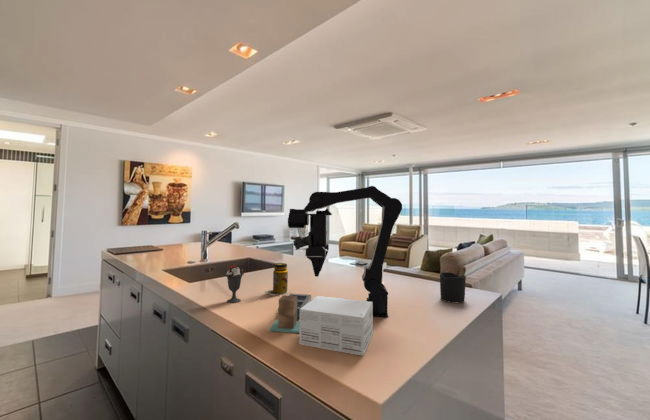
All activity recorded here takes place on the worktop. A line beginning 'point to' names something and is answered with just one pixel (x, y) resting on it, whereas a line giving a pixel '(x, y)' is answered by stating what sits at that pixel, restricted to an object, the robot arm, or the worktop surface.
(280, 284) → the condiment
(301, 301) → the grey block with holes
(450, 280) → the pen holder
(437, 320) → the worktop surface
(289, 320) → the peg
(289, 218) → the robot arm
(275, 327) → the mat
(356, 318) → the supplement box
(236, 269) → the sundae
